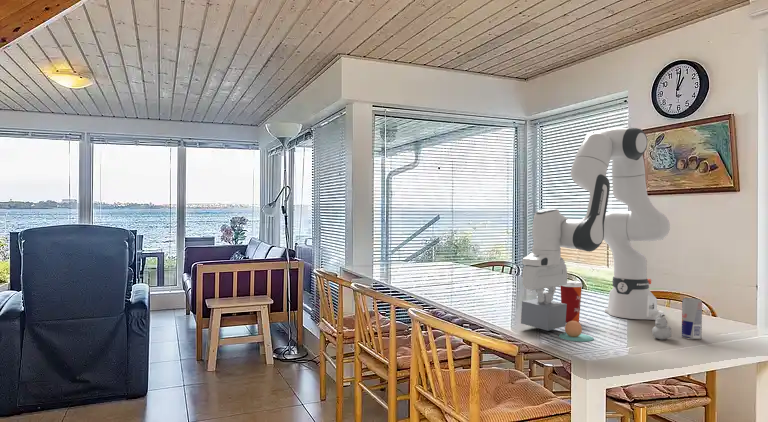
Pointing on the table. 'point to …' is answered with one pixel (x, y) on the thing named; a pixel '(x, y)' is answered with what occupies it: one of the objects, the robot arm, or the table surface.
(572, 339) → the disc
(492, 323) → the table surface
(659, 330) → the rubber duck
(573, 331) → the ball
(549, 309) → the grey rectangular box
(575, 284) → the paper cup
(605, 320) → the table surface
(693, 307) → the energy drink
